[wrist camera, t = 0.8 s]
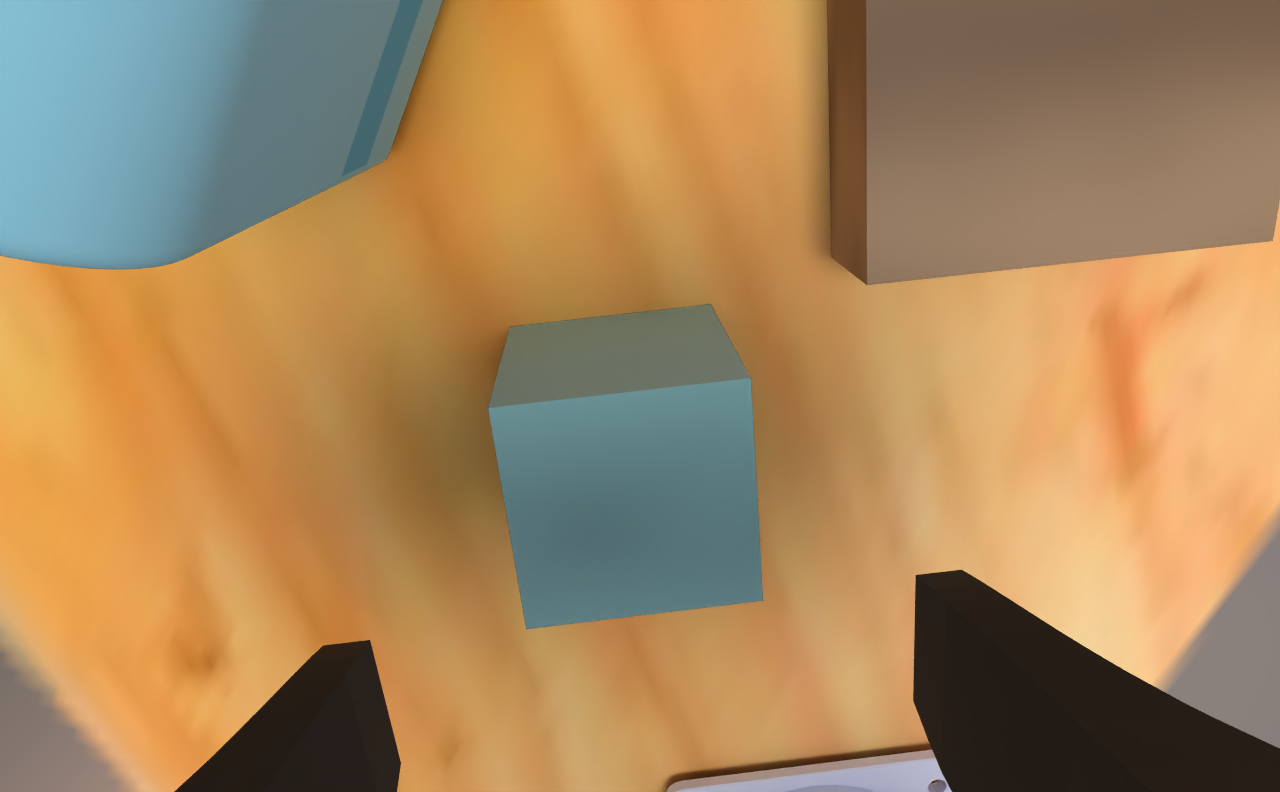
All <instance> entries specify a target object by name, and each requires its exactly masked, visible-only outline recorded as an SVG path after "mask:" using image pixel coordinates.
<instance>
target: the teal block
mask: <svg viewBox="0 0 1280 792" xmlns="http://www.w3.org/2000/svg"><path fill="white" fill-rule="evenodd" d="M488 411H489V417H490V422H491V428H492V434H493V440H494V446H495V451H496V457H497V463H498V469H499V475H500V480H501V486H502V492H503V498H504V504H505V509H506V515H507V521H508V527H509V533H510V538H511V544H512V550H513V556H514V561H515V567H516V573H517V579H518V585H519V590H520V596H521V602H522V608H523V614H524V619H525V625H526V629H531V628H539V627H548V626H556V625H564V624H573V623H581V622H589V621H598V620H606V619H614V618H623V617H631V616H639V615H647V614H656V613H664V612H672V611H681V610H689V609H697V608H706V607H714V606H722V605H731V604H739V603H747V602H756V601H763V590H762V572H761V553H760V535H759V517H758V499H757V481H756V463H755V445H754V427H753V408H752V390H751V377H750V376H749V374H748V372H747V370H746V368H745V366H744V365H743V363H742V361H741V359H740V357H739V355H738V354H737V352H736V350H735V348H734V346H733V344H732V342H731V341H730V339H729V337H728V335H727V333H726V331H725V330H724V328H723V326H722V324H721V322H720V320H719V319H718V317H717V315H716V313H715V311H714V309H713V308H712V306H711V304H708V305H699V306H690V307H681V308H672V309H663V310H654V311H645V312H636V313H627V314H618V315H609V316H600V317H591V318H582V319H573V320H564V321H555V322H546V323H538V324H529V325H520V326H511V327H510V328H509V332H508V336H507V340H506V343H505V347H504V351H503V354H502V358H501V362H500V365H499V369H498V373H497V377H496V380H495V384H494V388H493V391H492V395H491V399H490V402H489V406H488Z"/></svg>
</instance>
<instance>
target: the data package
mask: <svg viewBox="0 0 1280 792" xmlns="http://www.w3.org/2000/svg"><path fill="white" fill-rule="evenodd" d="M442 1H443V0H0V256H4V257H9V258H15V259H20V260H26V261H32V262H37V263H45V264H52V265H59V266H68V267H79V268H90V269H141V268H151V267H158V266H163V265H167V264H172V263H175V262H178V261H180V260H183V259H186V258H188V257H190V256H192V255H194V254H196V253H198V252H200V251H202V250H204V249H206V248H208V247H210V246H212V245H215V244H217V243H219V242H221V241H223V240H225V239H227V238H229V237H231V236H233V235H235V234H237V233H239V232H241V231H243V230H245V229H247V228H249V227H251V226H253V225H255V224H257V223H259V222H261V221H263V220H265V219H267V218H270V217H272V216H274V215H276V214H278V213H280V212H282V211H284V210H286V209H288V208H290V207H292V206H294V205H296V204H298V203H300V202H302V201H304V200H306V199H308V198H310V197H312V196H314V195H316V194H318V193H320V192H322V191H325V190H327V189H329V188H331V187H333V186H335V185H337V184H339V183H341V182H343V181H345V180H347V179H349V178H351V177H353V176H355V175H357V174H359V173H361V172H363V171H365V170H367V169H369V168H371V167H373V166H375V165H377V164H380V163H382V162H383V161H384V160H385V159H386V158H387V157H388V155H389V153H390V150H391V147H392V144H393V142H394V139H395V136H396V133H397V130H398V127H399V124H400V122H401V119H402V116H403V113H404V110H405V107H406V104H407V101H408V99H409V96H410V93H411V90H412V87H413V84H414V81H415V79H416V76H417V73H418V70H419V67H420V64H421V61H422V59H423V56H424V53H425V50H426V47H427V44H428V41H429V39H430V36H431V33H432V30H433V27H434V24H435V21H436V19H437V16H438V13H439V10H440V7H441V4H442Z"/></svg>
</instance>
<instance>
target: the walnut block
mask: <svg viewBox="0 0 1280 792" xmlns="http://www.w3.org/2000/svg"><path fill="white" fill-rule="evenodd" d="M827 28H828V86H829V143H830V200H831V257H832V258H833V259H834V260H836V261H837V262H838V263H839V264H841V265H842V266H843V267H845V268H846V269H847V270H848V271H850V272H851V273H852V274H854V275H855V276H856V277H857V278H859V279H860V280H861V281H863V282H864V283H865V284H866V285H873V284H882V283H891V282H900V281H909V280H918V279H928V278H937V277H946V276H955V275H964V274H973V273H983V272H992V271H1001V270H1010V269H1019V268H1029V267H1038V266H1047V265H1056V264H1065V263H1074V262H1084V261H1093V260H1102V259H1111V258H1120V257H1129V256H1139V255H1148V254H1157V253H1166V252H1175V251H1184V250H1194V249H1203V248H1212V247H1221V246H1230V245H1239V244H1249V243H1258V242H1267V241H1273V237H1274V231H1275V225H1276V218H1277V212H1278V206H1279V200H1280V0H827Z"/></svg>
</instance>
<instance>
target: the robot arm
mask: <svg viewBox="0 0 1280 792" xmlns="http://www.w3.org/2000/svg"><path fill="white" fill-rule="evenodd" d="M913 701H914V704H915V706H916V709H917V711H918V714H919V717H920V719H921V722H922V725H923V727H924V730H925V733H926V735H927V738H928V741H929V743H930V745H931V748H932V750H925V751H917V752H909V753H901V754H893V755H884V756H876V757H868V758H860V759H852V760H844V761H836V762H828V763H820V764H812V765H804V766H796V767H788V768H780V769H772V770H764V771H756V772H748V773H740V774H732V775H724V776H716V777H707V778H699V779H691V780H683V781H679V782H675V783H674V784H672V785H671V786H669V788H668V789H667V791H666V792H1280V748H1277V747H1275V746H1273V745H1271V744H1269V743H1266V742H1264V741H1262V740H1260V739H1258V738H1256V737H1254V736H1251V735H1249V734H1247V733H1245V732H1243V731H1241V730H1239V729H1237V728H1234V727H1232V726H1230V725H1228V724H1226V723H1224V722H1222V721H1219V720H1217V719H1215V718H1213V717H1211V716H1209V715H1207V714H1205V713H1203V712H1201V711H1199V710H1197V709H1195V708H1193V707H1191V706H1189V705H1187V704H1185V703H1183V702H1181V701H1180V700H1178V699H1176V698H1174V697H1172V696H1170V695H1169V694H1167V693H1165V692H1163V691H1161V690H1159V689H1158V688H1156V687H1154V686H1152V685H1150V684H1148V683H1147V682H1145V681H1143V680H1141V679H1139V678H1137V677H1136V676H1134V675H1132V674H1130V673H1128V672H1127V671H1125V670H1123V669H1122V668H1120V667H1118V666H1116V665H1115V664H1113V663H1111V662H1109V661H1108V660H1106V659H1104V658H1103V657H1101V656H1099V655H1098V654H1096V653H1094V652H1093V651H1091V650H1089V649H1088V648H1086V647H1084V646H1083V645H1081V644H1079V643H1078V642H1076V641H1074V640H1073V639H1071V638H1070V637H1068V636H1066V635H1065V634H1063V633H1062V632H1060V631H1058V630H1057V629H1055V628H1054V627H1052V626H1050V625H1049V624H1047V623H1046V622H1044V621H1042V620H1041V619H1039V618H1038V617H1036V616H1035V615H1033V614H1032V613H1030V612H1028V611H1027V610H1025V609H1024V608H1022V607H1021V606H1019V605H1017V604H1016V603H1014V602H1013V601H1011V600H1010V599H1008V598H1007V597H1005V596H1003V595H1002V594H1000V593H999V592H997V591H996V590H994V589H992V588H991V587H989V586H988V585H986V584H985V583H983V582H981V581H980V580H978V579H976V578H975V577H973V576H971V575H970V574H968V573H966V572H964V571H963V570H956V571H947V572H939V573H930V574H922V575H916V590H915V641H914V692H913ZM400 765H401V762H400V758H399V754H398V750H397V746H396V742H395V738H394V734H393V730H392V726H391V722H390V718H389V714H388V710H387V706H386V702H385V698H384V694H383V690H382V686H381V682H380V678H379V674H378V670H377V666H376V662H375V658H374V654H373V650H372V646H371V642H370V640H367V641H358V642H350V643H342V644H333V645H325V646H322V647H321V648H320V649H319V650H318V651H317V652H316V653H315V654H314V655H313V656H312V657H311V658H310V659H309V660H308V661H307V662H306V663H305V664H304V665H303V666H302V667H301V668H300V669H299V670H298V671H297V672H296V673H295V674H294V675H293V676H292V677H291V678H290V679H289V680H288V681H287V682H286V683H285V684H284V685H283V686H282V687H281V688H280V689H279V690H278V691H277V692H276V693H275V694H274V695H273V696H272V697H271V698H270V699H269V700H268V701H267V702H266V703H265V705H264V706H263V707H262V708H261V709H260V710H259V711H258V712H257V713H256V714H255V715H254V716H253V717H252V718H251V719H250V720H249V721H248V722H247V723H246V724H245V725H244V726H243V727H242V728H241V729H240V730H239V731H238V732H237V733H236V734H235V735H234V736H233V737H232V738H231V739H230V740H229V741H228V742H227V743H226V744H225V745H224V746H223V747H222V748H221V749H220V750H219V751H218V752H217V753H216V754H215V755H214V756H213V757H211V758H210V759H209V760H208V761H207V762H206V763H205V764H204V765H203V766H202V767H201V768H200V769H199V770H197V771H196V772H195V773H194V774H193V775H192V776H191V777H190V778H189V779H188V780H187V781H186V782H184V783H183V784H182V785H181V786H180V787H179V788H178V789H177V790H176V791H175V792H397V787H398V780H399V773H400ZM937 779H938V781H937V782H934V783H931V782H932V781H934V780H937Z"/></svg>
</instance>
